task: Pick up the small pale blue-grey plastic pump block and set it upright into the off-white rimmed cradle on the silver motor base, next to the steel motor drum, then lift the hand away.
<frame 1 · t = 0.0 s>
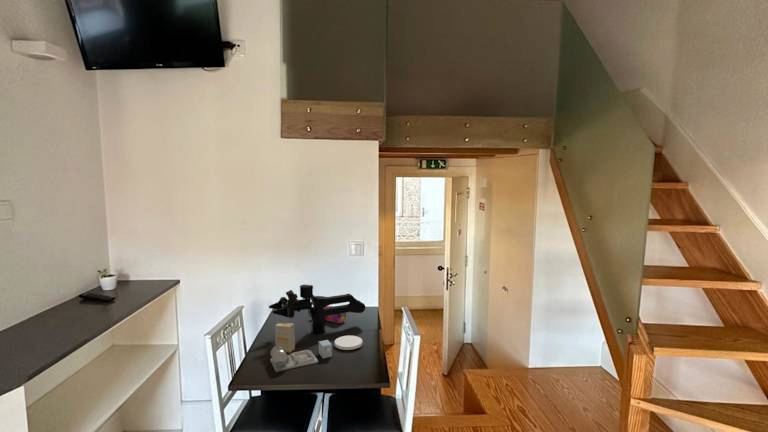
hand: (270, 309, 197), 17 cm above the table, tool horizontal, fingers open, 9 cm apart
pencil case: (328, 320, 229), on the table
plastic lid: (348, 346, 193), on the table
drain pump: (325, 355, 182), on the table
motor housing: (294, 361, 175), on the table
supplement box: (285, 350, 187), on the table
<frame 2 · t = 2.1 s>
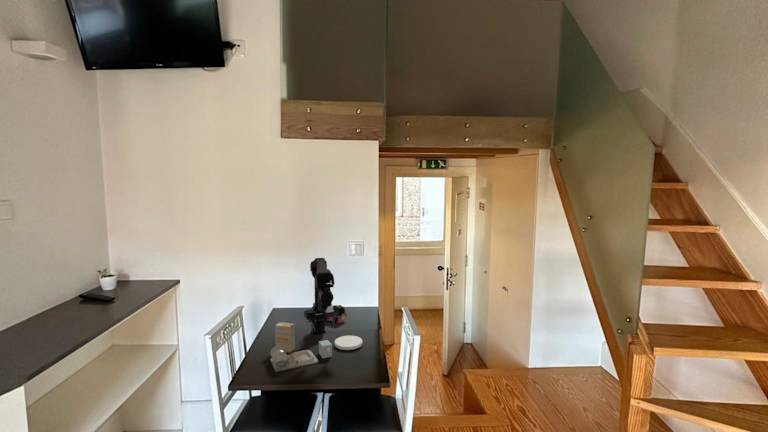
hand: (324, 329, 181), 12 cm above the table, tool pointing down, fingers open, 9 cm apart
nothing on the table moved.
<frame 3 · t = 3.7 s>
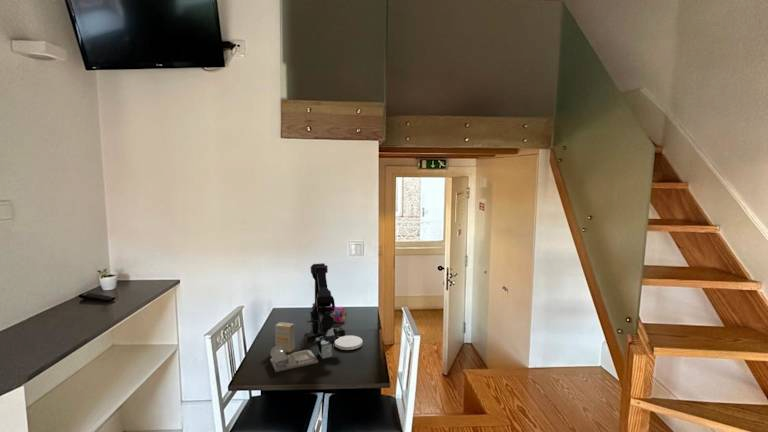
hand: (325, 352, 182), 1 cm above the table, tool pointing down, fingers closed on drain pump, 4 cm apart
drain pump: (325, 354, 182), on the table, touching gripper
everything else where it was.
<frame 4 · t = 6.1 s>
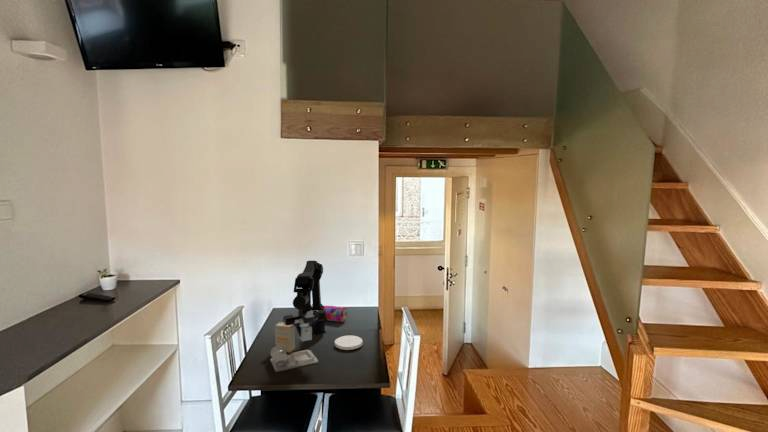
hand: (305, 335, 176), 12 cm above the table, tool pointing down, fingers closed on drain pump, 4 cm apart
drain pump: (305, 338, 176), point 10 cm above the table, touching gripper
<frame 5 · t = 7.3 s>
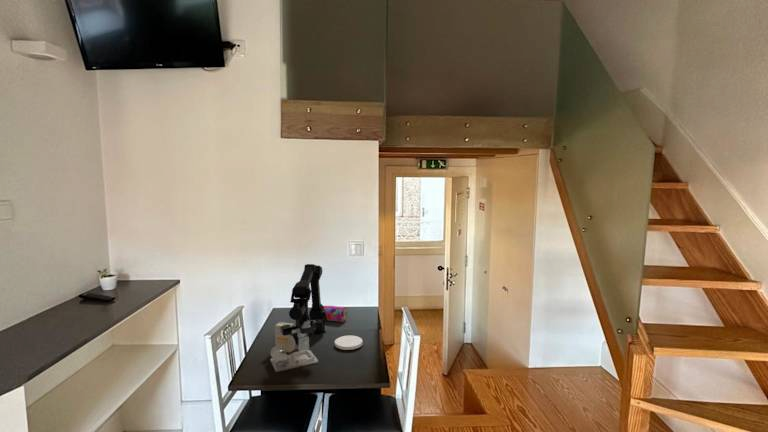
hand: (302, 345, 176), 7 cm above the table, tool pointing down, fingers closed on drain pump, 4 cm apart
drain pump: (302, 347, 176), point 6 cm above the table, touching gripper
when the fingers open (3 cm above the table, at t = 8.5 s): drain pump stays where it is, resting on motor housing.
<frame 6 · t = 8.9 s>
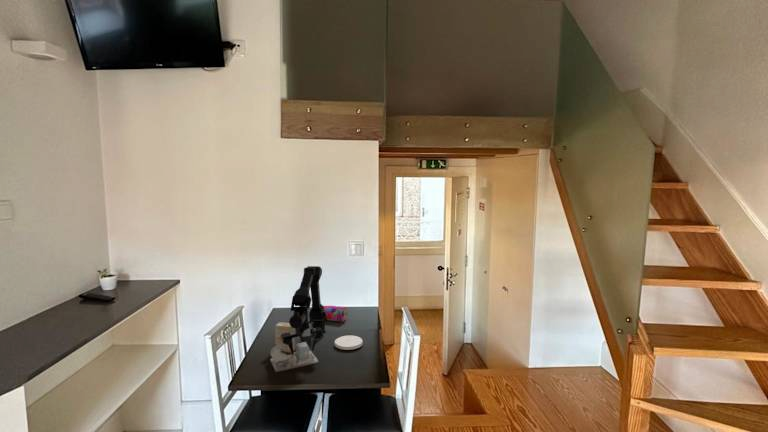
hand: (302, 352, 176), 3 cm above the table, tool pointing down, fingers open, 9 cm apart
drain pump: (302, 357, 177), point 1 cm above the table, touching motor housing
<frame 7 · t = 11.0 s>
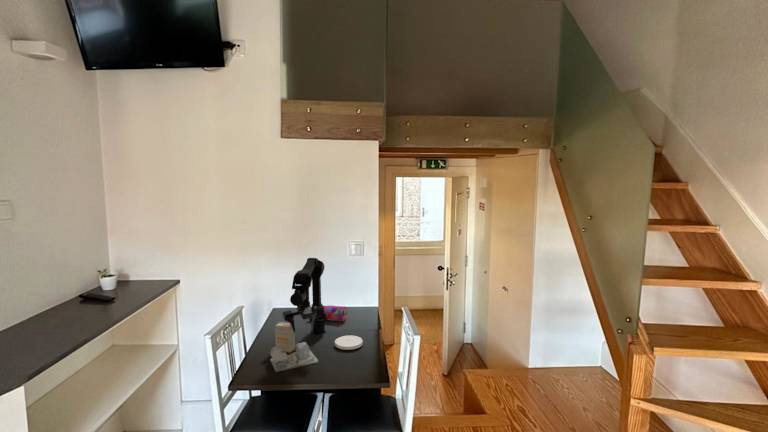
hand: (303, 330, 182), 12 cm above the table, tool pointing down, fingers open, 9 cm apart
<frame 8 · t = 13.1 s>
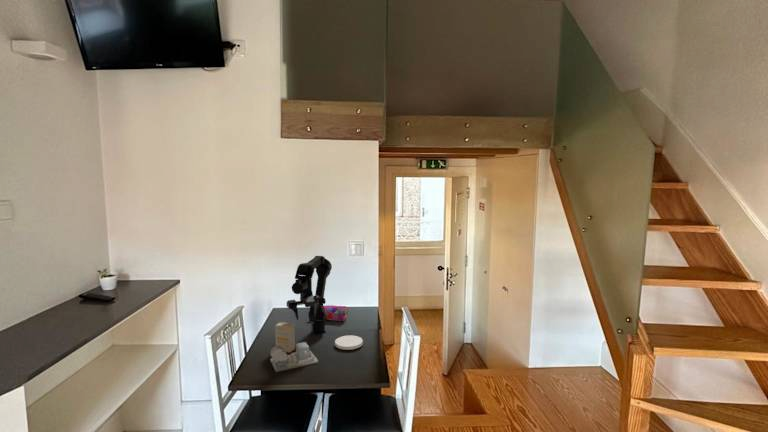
hand: (306, 318, 194), 13 cm above the table, tool pointing down, fingers open, 9 cm apart
at the end: drain pump 0.1 cm from the target spot on the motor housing, point 1.0 cm above the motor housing's base; drain pump tilted 0°; the gripper is holding nothing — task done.
